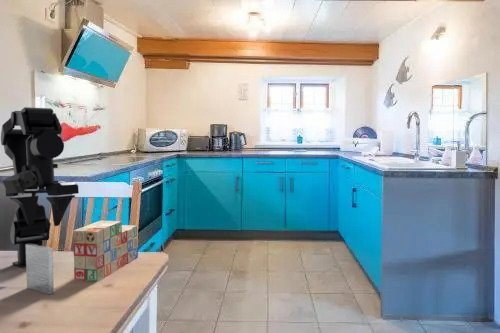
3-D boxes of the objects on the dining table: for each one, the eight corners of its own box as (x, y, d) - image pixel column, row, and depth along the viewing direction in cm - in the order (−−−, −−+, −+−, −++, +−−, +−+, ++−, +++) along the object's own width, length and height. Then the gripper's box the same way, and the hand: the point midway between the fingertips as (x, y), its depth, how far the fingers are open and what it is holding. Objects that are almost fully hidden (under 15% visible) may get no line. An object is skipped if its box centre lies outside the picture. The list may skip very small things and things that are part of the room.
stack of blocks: (118, 256, 123) (117, 214, 122) (138, 257, 122) (137, 214, 121) (73, 280, 102) (72, 229, 101) (97, 282, 101) (96, 230, 100)
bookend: (26, 288, 96) (25, 244, 96) (31, 286, 97) (29, 243, 96) (49, 294, 92) (48, 248, 92) (53, 293, 93) (52, 247, 92)
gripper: (-18, 162, 99) (-15, 229, 99) (36, 158, 90) (40, 231, 90) (26, 161, 109) (29, 223, 109) (78, 158, 100) (81, 224, 100)
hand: (43, 225), depth 102 cm, fingers open, 9 cm apart
